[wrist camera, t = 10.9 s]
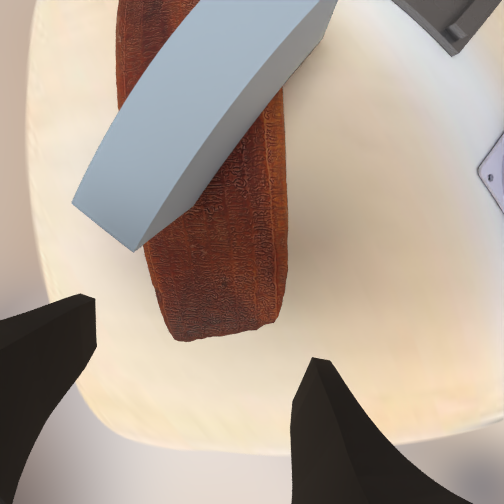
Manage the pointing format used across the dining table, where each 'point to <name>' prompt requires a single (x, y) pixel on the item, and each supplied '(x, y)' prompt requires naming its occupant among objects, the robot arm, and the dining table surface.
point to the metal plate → (450, 19)
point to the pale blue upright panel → (194, 110)
